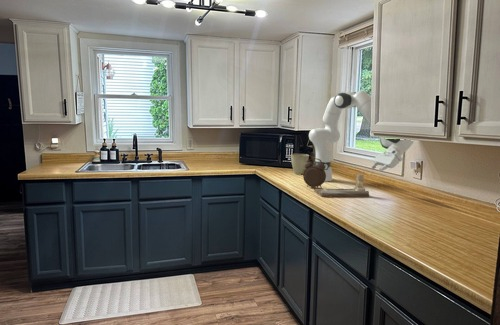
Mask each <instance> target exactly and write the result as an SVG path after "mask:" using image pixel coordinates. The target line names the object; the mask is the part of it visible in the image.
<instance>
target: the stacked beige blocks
mask: <svg viewBox="0 0 500 325" xmlns="http://www.w3.org/2000/svg"><path fill="white" fill-rule="evenodd" d="M364 175H365V174H362V173H357V174H356V181H355V183H356V184H355V185H353V187H352V189H353V191H366V187H364V177H365V176H364Z"/></svg>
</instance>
